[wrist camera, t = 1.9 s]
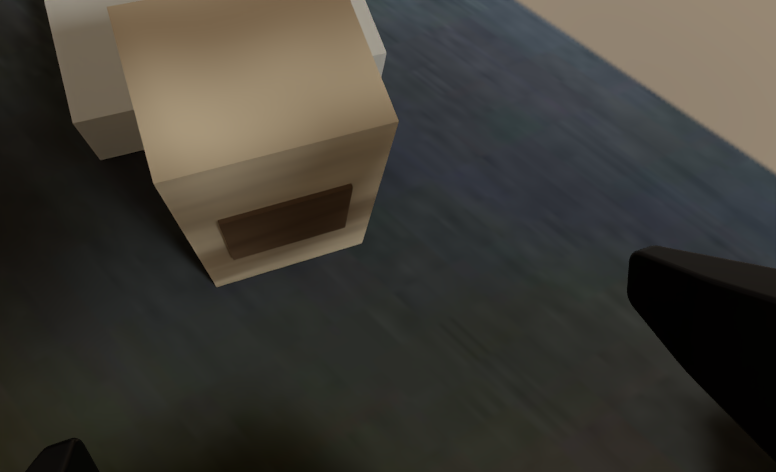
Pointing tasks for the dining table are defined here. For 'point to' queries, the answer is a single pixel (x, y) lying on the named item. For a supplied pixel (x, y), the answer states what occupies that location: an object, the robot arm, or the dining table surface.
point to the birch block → (257, 125)
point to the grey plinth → (119, 71)
